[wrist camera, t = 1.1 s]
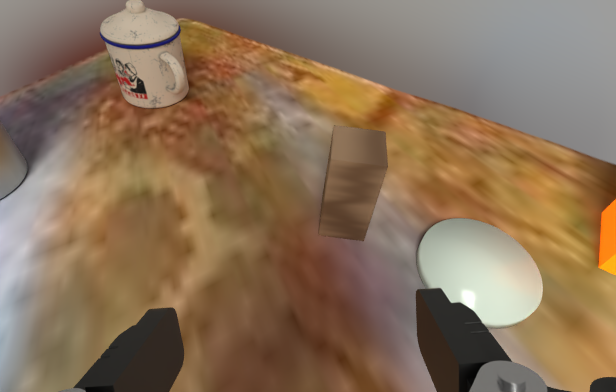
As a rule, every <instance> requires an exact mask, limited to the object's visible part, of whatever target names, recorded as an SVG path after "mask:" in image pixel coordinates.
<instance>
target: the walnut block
mask: <svg viewBox="0 0 616 392" xmlns="http://www.w3.org/2000/svg"><path fill="white" fill-rule="evenodd" d="M387 167H388V162H387V148H386V133H385V132H384V131H376V130H368V129H360V128H352V127H344V126H336V125H334V128H333V134H332V141H331V147H330V153H329V159H328V166H327V172H326V178H325V184H324V191H323V197H322V204H321V214H320V224H319V233H318V235H321V236H329V237H336V238H344V239H352V240H360V241H364V238H365V235H366V232H367V229H368V226H369V223H370V220H371V217H372V214H373V211H374V208H375V204H376V201H377V198H378V195H379V192H380V189H381V186H382V183H383V180H384V177H385V174H386V171H387Z"/></svg>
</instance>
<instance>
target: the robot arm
mask: <svg viewBox="0 0 616 392" xmlns="http://www.w3.org/2000/svg"><path fill="white" fill-rule="evenodd" d="M26 173H27V163H26V160H25V158H24V157H23V155H22V154H21V152H20V151H19V149H18V148H17V146H16V145H15V143H14V141H13V140H12V138H11V137H10V135H9V134H8V132H7V130H6V129H5V127H4V126H3V124H2V123H1V121H0V199H1V198H3V197H5V196H6V195H7V194H9V193H10V192H12V191H13V190H14V189H15V188H16V187H17V186H18V185H19V184H20V183H21V182H22V180H23V179H24V178H25V175H26ZM416 317H417V337H418V343H419V348H420V351H421V354H422V357H423V359H424V361H425V364H426V366H427V369H428V371H429V374H430V376H431V378H432V381H433V383H434V386H435V388H436V391H437V392H570V391H564V390H559V389H554V388H550V387H547V386H546V384H545V382H544V381H543V379H542V378H541V377H540V376H539V375H538V374H537V373H535V372H534V371H532V370H531V369H529V368H527V367H525V366H523V365H520V364H518V363H514V362H512V361H511V359H510V358H509V357H508V355H507V354H506V353H505V351H504V350H503V349H502V347H501V346H500V345H499V343H498V342H497V341H496V339H495V338H494V337H493V336H492V334H491V333H489V330H488V329H487V328H486V326H485V325H484V324H482V321H481V320H480V318H479V317H478V316H477V314H476V313H475V312H474V310H472V309H470V308H469V307H467V306H466V305H464V304H462V303H461V302H456V303H451V302H450V301H449V299H448V298H447V296H446V295H445V293H444V292H443V290H442V289H441V288H431V289H418V290H417V291H416ZM183 360H184V347H183V342H182V338H181V333H180V328H179V323H178V318H177V314H176V311H175V309H174V308H159V309H149V310H148V311H147V312H146V313H145V315H144V316H143V317H142V318H141V319H140V321H139V322H138V323H137V324H136V325H134V326H132V327H130V328H129V329H127V330H126V331H124V332H123V333H122V334H120V335H119V336H118V337H117V338H116V339H115V340H114V341H113V343H112V344H111V345H110V346H109V349H107V350H106V351H105V352H104V353H103V354H102V355H101V358H100V359H98V360H97V361H96V362H95V363H94V365H93V366H92V367H91V368H90V369H89V370H88V372H87V373H86V374H85V375H84V376H83V377H82V379H81V380H80V381H79V382H78V383H77V384H76V386H75V387H74V388H72V389H66V390H63V391H60V392H169V391H170V389H171V387H172V385H173V383H174V381H175V379H176V377H177V376H178V374H179V372H180V370H181V368H182V365H183ZM590 392H616V377H604V378H599V379H597V380H595V381H593V382H592V384H591V385H590Z"/></svg>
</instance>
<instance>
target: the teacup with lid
mask: <svg viewBox="0 0 616 392" xmlns="http://www.w3.org/2000/svg"><path fill="white" fill-rule="evenodd" d="M180 31H181V29H180V26H179V24H178V22H177V21H176V20H175V18H173V17H172V16H170V15H169V14H166V13H164V12H160V11H155V10H152V9H149V8H145V6H144V4H143V2H142V1H140V0H129V1H127V2H126V9H124V10H122V11H121V12H119V13H117V14H114V15H112V16H110V17H108V18H107V19H105V20H104V21H103V23H102V24H101V27H100V35H101V38H102V39H103V40H104V41H105V43H106V46H107V49H108V52H109V55H110V58H111V61H112V64H113V67H114V70H115V73H116V76H117V79H118V82H119V85H120V88H121V91H122V94H123V97H124V98H125V100H126V101H128V102H129V103H131V104H132V105H135V106H138V107H142V108H162V107H167V106H170V105H173V104H175V103H177V102H179V101H181V100H182V99H183V98H184V97H185V96H186V95H187V93H188V90H189V85H188V79H187V74H186V68H185V63H184V57H183V52H182V46H181V41H180V35H179V34H180Z"/></svg>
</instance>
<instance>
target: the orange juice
mask: <svg viewBox="0 0 616 392" xmlns="http://www.w3.org/2000/svg"><path fill="white" fill-rule="evenodd" d="M599 268H601V269H603V270H605V271H608V272H610V273H612V274H614V275H616V199H615V200H614V201H613V202H612V203H611V204H610V205H609V206H608V207H607V208H606V209H605V210H604V211H603V212H602V220H601V238H600V255H599Z"/></svg>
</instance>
